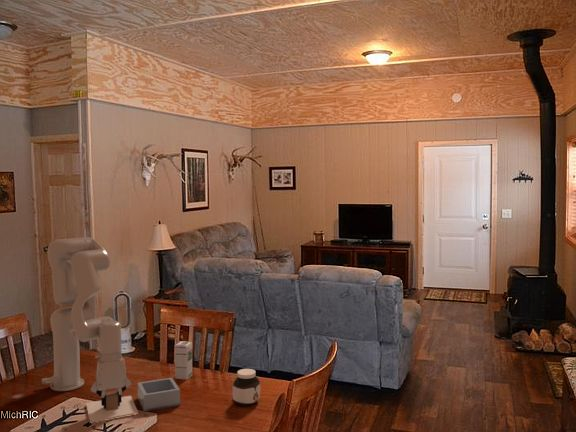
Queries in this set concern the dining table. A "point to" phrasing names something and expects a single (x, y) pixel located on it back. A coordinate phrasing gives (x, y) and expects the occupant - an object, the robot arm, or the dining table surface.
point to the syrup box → (183, 360)
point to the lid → (110, 407)
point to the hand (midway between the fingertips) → (111, 405)
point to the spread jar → (246, 387)
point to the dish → (158, 394)
